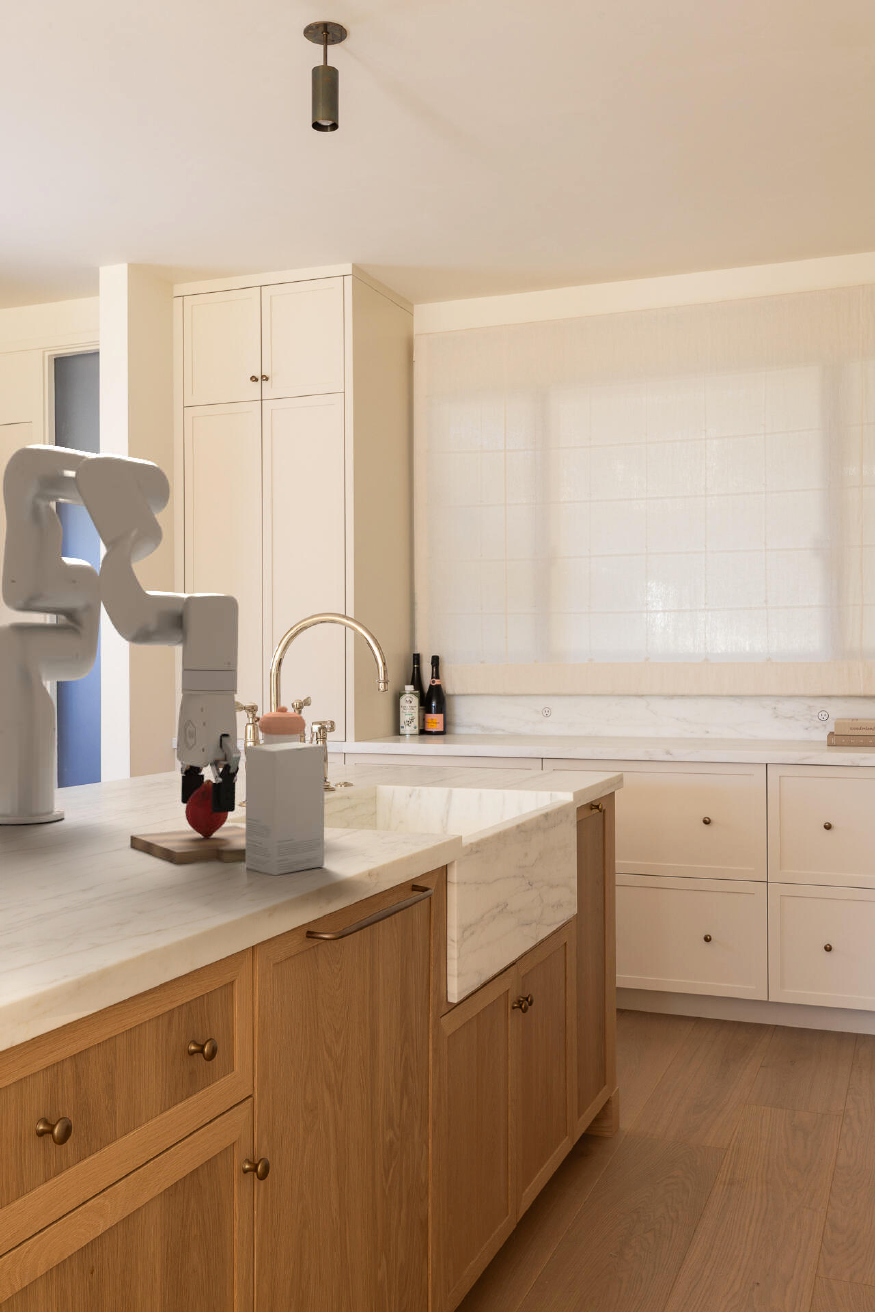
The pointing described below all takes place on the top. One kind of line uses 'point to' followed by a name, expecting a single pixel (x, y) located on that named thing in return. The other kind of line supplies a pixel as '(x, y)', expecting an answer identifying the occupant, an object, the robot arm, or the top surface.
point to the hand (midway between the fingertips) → (207, 807)
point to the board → (194, 845)
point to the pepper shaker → (281, 726)
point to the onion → (204, 811)
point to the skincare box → (284, 807)
